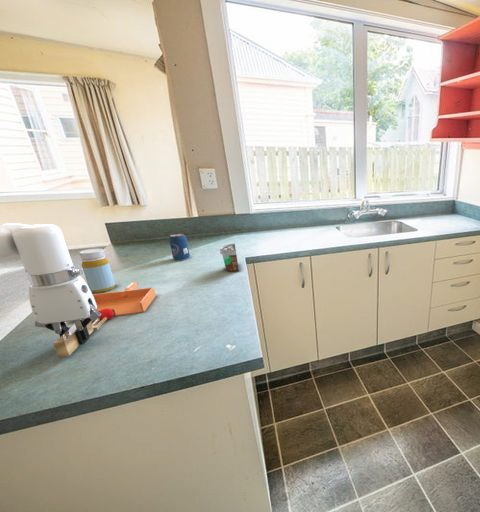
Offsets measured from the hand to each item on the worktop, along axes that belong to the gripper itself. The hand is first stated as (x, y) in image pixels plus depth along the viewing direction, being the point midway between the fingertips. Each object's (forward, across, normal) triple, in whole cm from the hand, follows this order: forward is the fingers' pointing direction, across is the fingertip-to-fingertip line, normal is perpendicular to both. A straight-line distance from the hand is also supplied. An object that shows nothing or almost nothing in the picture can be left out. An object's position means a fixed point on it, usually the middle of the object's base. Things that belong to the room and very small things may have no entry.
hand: (77, 342), depth 76 cm
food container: (+1, -32, -49) cm, 58 cm away
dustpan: (+1, -1, -27) cm, 27 cm away
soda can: (+1, -9, -73) cm, 73 cm away
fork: (0, 0, -3) cm, 3 cm away
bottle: (+1, +10, -42) cm, 43 cm away
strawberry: (-1, 0, -13) cm, 13 cm away
